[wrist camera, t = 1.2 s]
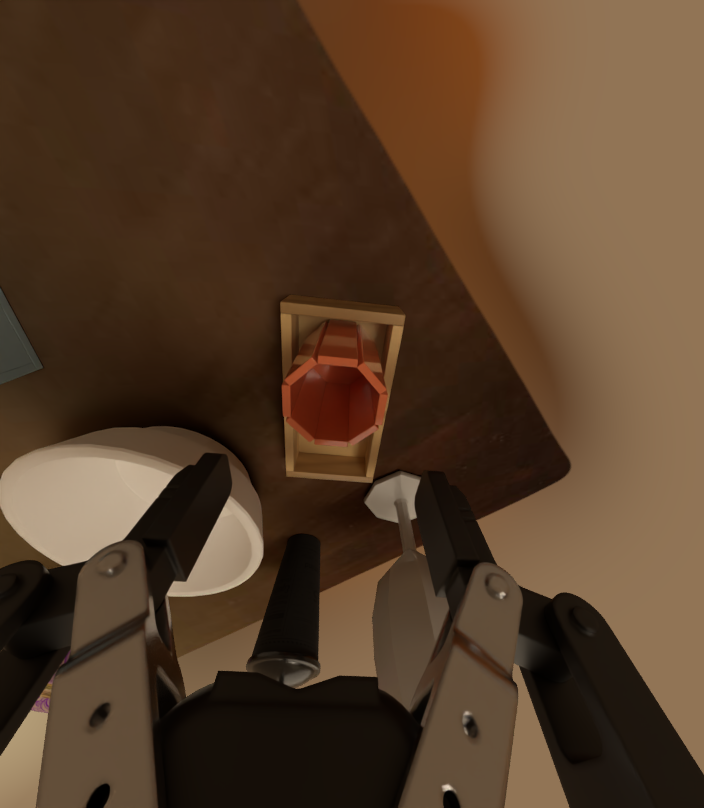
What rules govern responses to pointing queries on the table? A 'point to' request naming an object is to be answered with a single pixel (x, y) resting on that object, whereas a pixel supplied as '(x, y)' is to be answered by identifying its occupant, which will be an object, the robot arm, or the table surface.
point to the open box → (14, 346)
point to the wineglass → (403, 596)
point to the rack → (386, 333)
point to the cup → (335, 386)
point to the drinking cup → (292, 618)
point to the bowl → (127, 500)
